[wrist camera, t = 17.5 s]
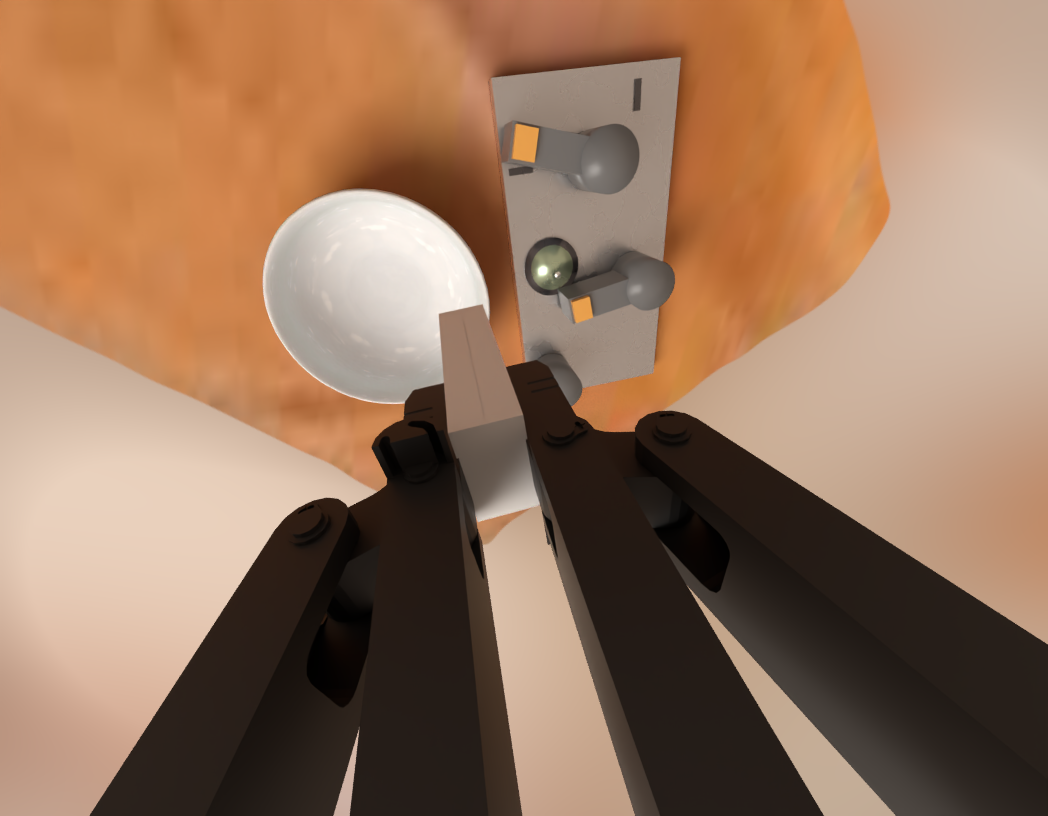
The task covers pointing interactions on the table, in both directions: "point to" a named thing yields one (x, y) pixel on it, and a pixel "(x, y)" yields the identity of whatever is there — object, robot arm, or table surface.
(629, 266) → the knob
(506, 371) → the robot arm
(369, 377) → the cereal bowl
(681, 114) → the table surface
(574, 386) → the knob
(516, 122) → the knob
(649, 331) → the level plate
